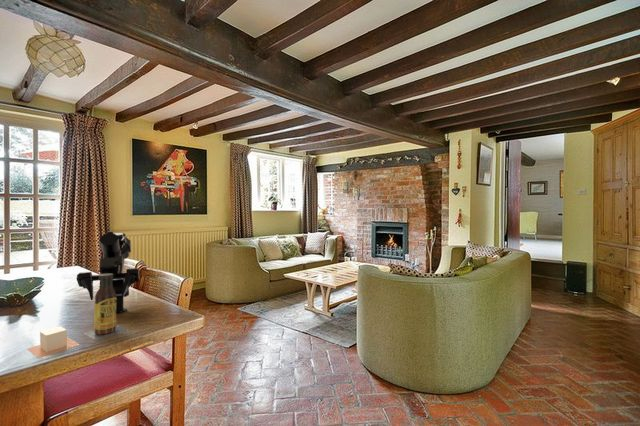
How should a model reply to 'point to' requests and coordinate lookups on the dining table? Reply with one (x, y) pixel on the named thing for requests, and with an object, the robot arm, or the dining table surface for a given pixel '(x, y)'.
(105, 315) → the sauce bottle
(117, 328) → the slate tile
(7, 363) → the dining table surface
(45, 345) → the cream block
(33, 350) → the terracotta tile
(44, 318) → the dining table surface
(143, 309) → the dining table surface
